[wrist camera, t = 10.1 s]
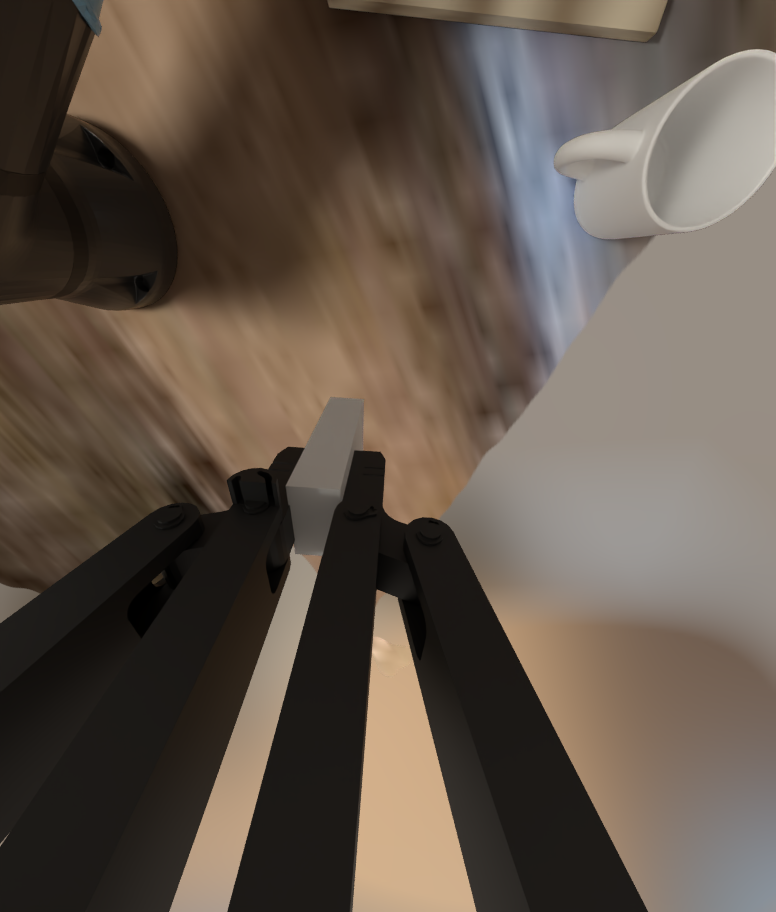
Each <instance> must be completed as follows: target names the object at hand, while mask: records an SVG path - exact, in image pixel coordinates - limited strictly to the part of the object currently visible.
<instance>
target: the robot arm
mask: <svg viewBox="0 0 776 912" xmlns="http://www.w3.org/2000/svg"><path fill="white" fill-rule="evenodd" d="M102 4H103V0H0V305H3V304H11V303H19V302H27V301H35V300H43V299H53V298H56V299H60V300H65V301H69V302H73V303H77V304H82V305H86V306H90V307H95V308H99V309H104V310H116V311H119V310H129V309H135V308H140V307H145V306H148V305H150V304H152V303H154V302H156V301H157V300H159V299H160V298H161V297H162V296H163V295H164V294H165V293H166V292H167V290H168V289H169V287H170V285H171V283H172V281H173V278H174V275H175V271H176V265H177V244H176V237H175V232H174V228H173V224H172V221H171V218H170V215H169V212H168V210H167V207H166V205H165V203H164V201H163V199H162V197H161V195H160V193H159V191H158V189H157V188H156V186H155V184H154V183H153V181H152V180H151V178H150V177H149V175H148V174H147V172H146V171H145V170H144V169H143V167H142V166H141V165H140V164H139V162H138V161H137V160H136V159H135V158H134V157H133V156H132V155H131V154H130V153H129V152H128V151H127V150H126V149H125V148H124V147H123V146H122V145H121V144H120V143H119V142H117V141H116V140H115V139H114V138H112V137H111V136H110V135H108V134H107V133H105V132H104V131H102V130H100V129H99V128H97V127H95V126H93V125H91V124H89V123H87V122H85V121H82V120H80V119H78V118H76V117H73V116H71V115H69V114H67V111H68V107H69V105H70V102H71V99H72V96H73V93H74V91H75V88H76V85H77V82H78V80H79V77H80V74H81V71H82V68H83V66H84V63H85V60H86V57H87V55H88V52H89V49H90V46H91V43H92V41H93V38H94V35H95V34H96V35H97V36H98V37H99V35H100V33H101V28H102V26H101V24H100V21H99V16H100V12H101V8H102ZM363 417H364V399H352V398H337V397H330V399H329V401H328V403H327V405H326V407H325V409H324V411H323V413H322V415H321V417H320V419H319V421H318V423H317V425H316V427H315V429H314V431H313V433H312V435H311V437H310V439H309V441H308V443H307V445H306V447H305V448H298V447H287V448H286V449H284V450H283V451H281V452H280V453H278V454H277V456H276V458H275V459H274V461H273V464H271V466H270V467H269V470H268V469H263V468H251V469H247V470H243V471H240V472H238V473H236V474H234V475H232V476H231V477H230V478H229V479H228V480H227V484H228V487H229V491H230V495H231V499H232V502H233V505H232V506H231V508H230V509H229V510H227V511H222V512H216V513H210V514H203V515H200V512H199V510H198V508H197V506H195V505H193V504H190V503H176V504H170V505H167V506H164V507H161V508H159V509H157V510H156V511H154V512H152V513H151V514H149V515H148V516H146V517H145V518H144V519H142V520H141V521H140V522H138V523H137V524H135V525H134V526H133V527H131V528H130V529H129V530H127V531H126V532H125V533H123V534H122V535H120V536H119V537H118V538H116V539H115V540H114V541H112V542H111V543H110V544H108V545H107V546H105V547H104V548H103V549H101V550H100V551H99V552H97V553H96V554H94V555H93V556H92V557H90V558H89V559H88V560H86V561H85V562H84V563H82V564H81V565H79V566H78V567H77V568H75V569H74V570H73V571H71V572H70V573H69V574H67V575H66V576H64V577H63V578H62V579H60V580H59V581H58V582H56V583H55V584H53V585H52V586H51V587H49V588H48V589H47V590H45V591H44V592H43V593H41V594H40V595H38V596H37V597H36V598H34V599H33V600H32V601H30V602H29V603H27V604H26V605H25V606H23V607H22V608H21V609H19V610H18V611H17V612H15V613H14V614H12V615H11V616H10V617H8V618H7V619H6V620H4V621H3V622H2V623H0V843H1V842H2V841H3V840H4V838H5V837H6V836H7V835H8V834H9V835H8V836H7V838H6V839H5V841H4V842H3V844H2V845H1V846H0V912H169V910H170V907H171V905H172V902H173V899H174V896H175V893H176V891H177V888H178V884H179V882H180V879H181V876H182V874H183V870H184V868H185V865H186V862H187V859H188V857H189V854H190V851H191V848H192V845H193V842H194V840H195V837H196V834H197V831H198V828H199V825H200V823H201V820H202V817H203V814H204V811H205V808H206V806H207V803H208V800H209V797H210V794H211V791H212V789H213V786H214V783H215V780H216V777H217V774H218V772H219V769H220V765H221V763H222V760H223V757H224V755H225V751H226V749H227V746H228V743H229V740H230V738H231V735H232V732H233V729H234V726H235V723H236V721H237V718H238V715H239V712H240V709H241V706H242V704H243V700H244V698H245V695H246V692H247V689H248V687H249V684H250V681H251V678H252V675H253V672H254V669H255V666H256V664H257V661H258V658H259V655H260V652H261V650H262V647H263V644H264V641H265V638H266V636H267V633H268V630H269V627H270V624H271V621H272V618H273V616H274V613H275V610H276V607H277V604H278V601H279V598H280V596H281V593H282V590H283V587H284V584H285V581H286V579H287V576H288V573H289V570H290V565H291V561H290V552H291V549H292V546H293V544H294V547H295V554H304V555H319V556H322V559H321V563H320V566H319V570H318V574H317V578H316V581H315V585H314V589H313V593H312V597H311V600H310V604H309V608H308V611H307V615H306V619H305V623H304V626H303V630H302V634H301V638H300V642H299V645H298V649H297V653H296V657H295V660H294V664H293V668H292V672H291V675H290V679H289V683H288V687H287V690H286V694H285V698H284V701H283V705H282V709H281V713H280V716H279V720H278V724H277V728H276V732H275V735H274V739H273V743H272V746H271V750H270V754H269V758H268V761H267V765H266V769H265V773H264V776H263V780H262V784H261V787H260V791H259V795H258V799H257V802H256V806H255V810H254V814H253V818H252V821H251V825H250V829H249V833H248V836H247V840H246V844H245V848H244V851H243V855H242V859H241V862H240V866H239V870H238V874H237V878H236V881H235V885H234V889H233V893H232V896H231V900H230V904H229V907H228V912H352V908H353V895H354V881H355V868H356V855H357V842H358V828H359V814H360V801H361V788H362V775H363V762H364V748H365V736H366V722H367V709H368V695H369V683H370V669H371V656H372V643H373V629H374V616H375V603H376V590H377V589H378V590H380V591H383V592H385V593H388V594H390V595H393V596H396V597H398V602H399V606H400V610H401V614H402V617H403V621H404V625H405V629H406V633H407V637H408V641H409V645H410V649H411V653H412V657H413V661H414V665H415V669H416V673H417V677H418V681H419V685H420V689H421V693H422V697H423V701H424V705H425V709H426V713H427V716H428V720H429V725H430V728H431V732H432V736H433V740H434V744H435V748H436V752H437V756H438V760H439V764H440V768H441V772H442V776H443V780H444V784H445V787H446V792H447V796H448V800H449V803H450V808H451V812H452V816H453V819H454V823H455V828H456V831H457V835H458V839H459V843H460V847H461V851H462V855H463V859H464V863H465V867H466V871H467V875H468V879H469V883H470V887H471V891H472V894H473V899H474V903H475V907H476V911H477V912H648V911H647V909H646V907H645V905H644V903H643V901H642V899H641V897H640V895H639V893H638V891H637V889H636V887H635V885H634V883H633V881H632V879H631V877H630V876H629V874H628V872H627V870H626V868H625V866H624V864H623V862H622V860H621V858H620V856H619V854H618V852H617V850H616V848H615V846H614V844H613V842H612V840H611V838H610V837H609V835H608V833H607V831H606V829H605V827H604V825H603V823H602V821H601V819H600V817H599V815H598V813H597V811H596V809H595V807H594V805H593V803H592V801H591V799H590V797H589V796H588V794H587V792H586V790H585V788H584V786H583V784H582V782H581V780H580V778H579V776H578V774H577V772H576V770H575V768H574V766H573V764H572V762H571V761H570V759H569V756H568V755H567V753H566V751H565V749H564V747H563V745H562V743H561V741H560V739H559V737H558V735H557V733H556V731H555V729H554V727H553V726H552V723H551V721H550V719H549V718H548V716H547V714H546V712H545V710H544V708H543V706H542V704H541V702H540V700H539V698H538V696H537V694H536V692H535V690H534V688H533V686H532V684H531V683H530V680H529V678H528V676H527V675H526V673H525V671H524V669H523V667H522V665H521V663H520V661H519V659H518V657H517V655H516V653H515V651H514V649H513V648H512V645H511V643H510V641H509V640H508V637H507V636H506V634H505V632H504V630H503V628H502V626H501V624H500V622H499V620H498V618H497V616H496V614H495V612H494V610H493V608H492V606H491V604H490V602H489V600H488V599H487V596H486V595H485V593H484V591H483V589H482V587H481V585H480V583H479V581H478V579H477V577H476V575H475V573H474V571H473V569H472V567H471V565H470V563H469V561H468V559H467V558H466V555H465V554H464V552H463V550H462V548H461V546H460V544H459V542H458V540H457V538H456V536H455V534H454V532H453V531H452V530H451V528H450V527H449V526H448V525H447V524H445V523H444V522H442V521H440V520H437V519H434V518H424V517H422V518H419V519H415V520H413V521H412V522H410V523H409V524H408V525H407V524H404V523H401V522H398V521H396V520H394V519H392V518H391V517H390V516H388V515H387V513H386V512H385V511H384V509H383V492H384V476H385V458H384V457H383V455H382V453H381V452H373V451H363ZM160 573H162V575H163V577H164V578H162V579H161V580H160V581H159V582H157V583H156V584H152V582H151V581H152V580H153V579H154V578H155V577H157V576H158V575H159V574H160ZM10 831H11V832H10Z"/></svg>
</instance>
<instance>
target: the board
mask: <svg viewBox="0 0 776 912" xmlns="http://www.w3.org/2000/svg"><path fill="white" fill-rule="evenodd" d="M667 1H668V0H327V2H328V5H329V8H337V9H346V10H355V11H364V12H373V13H382V14H391V15H401V16H410V17H419V18H428V19H437V20H446V21H455V22H464V23H473V24H482V25H492V26H501V27H510V28H519V29H528V30H537V31H546V32H555V33H564V34H574V35H583V36H592V37H601V38H610V39H619V40H628V41H637V42H647V41H648V40H649V39H650V38H651V37H652V36H653V35H655V34H656V33H657V30H658V27H659V24H660V21H661V18H662V15H663V13H664V10H665V7H666V4H667Z"/></svg>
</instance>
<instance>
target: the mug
mask: <svg viewBox="0 0 776 912" xmlns="http://www.w3.org/2000/svg"><path fill="white" fill-rule="evenodd" d="M775 167H776V53H774V52H772V51H769V50H761V49H755V50H746V51H742V52H738V53H735V54H732V55H730V56H727V57H725V58H723V59H722V60H720V61H718V62H716V63H714V64H713V65H711V66H710V67H708V68H706V69H705V70H703V71H702V72H700V73H698V74H697V75H695V76H694V77H692V78H690V79H689V80H687V81H686V82H684V83H683V84H681V85H679V86H678V87H676V88H675V89H673V90H671V91H670V92H668V93H667V94H665V95H663V96H662V97H660V98H659V99H657V100H656V101H654V102H652V103H651V104H649V105H648V106H646V107H644V108H643V109H641V110H640V111H638V112H636V113H635V114H633V115H632V116H630V117H629V118H627V119H625V120H624V121H622V122H621V123H619V124H618V125H617V126H615V127H614V128H613V129H611V130H604V131H597V132H592V133H588V134H584V135H581V136H578V137H576V138H574V139H572V140H570V141H568V142H567V143H565V144H563V145H562V146H561V147H560V149H559V150H558V151H557V153H556V155H555V157H554V168H555V169H556V171H557V172H558V173H560V174H562V175H564V176H567V177H570V178H574V179H577V181H576V186H575V192H574V209H575V214H576V218H577V220H578V222H579V224H580V225H581V227H582V228H583V229H584V230H585V231H586V232H587V233H588V234H590V235H592V236H594V237H597V238H600V239H623V238H634V237H644V236H654V235H663V234H674V233H684V232H692V231H697V230H700V229H703V228H706V227H709V226H711V225H713V224H715V223H717V222H719V221H721V220H722V219H724V218H726V217H728V216H729V215H730V214H732V213H733V212H735V211H736V210H737V209H739V208H740V207H741V206H742V205H743V204H745V203H746V202H747V201H748V200H749V199H750V198H751V197H752V196H753V195H754V194H755V193H756V192H757V191H758V189H759V188H760V187H761V186H762V185H763V184H764V182H765V181H766V180H767V178H768V177H769V176H770V175H771V173H772V172H773V170H774V168H775Z"/></svg>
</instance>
